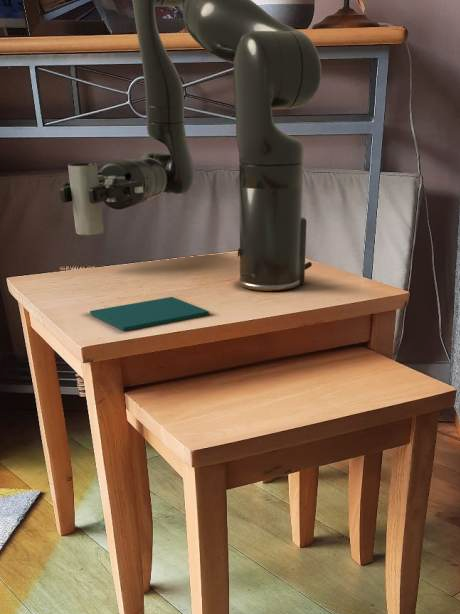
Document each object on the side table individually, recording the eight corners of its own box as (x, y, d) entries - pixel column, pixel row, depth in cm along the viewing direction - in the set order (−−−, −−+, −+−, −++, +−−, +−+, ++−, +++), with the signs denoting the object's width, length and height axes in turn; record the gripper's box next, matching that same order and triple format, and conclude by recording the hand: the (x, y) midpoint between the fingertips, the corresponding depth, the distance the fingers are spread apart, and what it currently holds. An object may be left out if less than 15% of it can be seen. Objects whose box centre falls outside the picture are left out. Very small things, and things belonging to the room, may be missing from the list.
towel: (172, 300, 108) (171, 296, 108) (209, 314, 101) (209, 311, 101) (90, 314, 102) (89, 310, 102) (123, 331, 95) (123, 327, 95)
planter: (106, 230, 124) (100, 162, 119) (100, 235, 120) (92, 165, 115) (80, 230, 125) (72, 163, 119) (72, 235, 121) (64, 165, 116)
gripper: (89, 159, 131) (34, 169, 118) (162, 160, 127) (114, 170, 113) (94, 204, 135) (41, 219, 121) (165, 207, 131) (119, 222, 117)
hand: (77, 195), depth 117 cm, fingers closed on planter, 4 cm apart
